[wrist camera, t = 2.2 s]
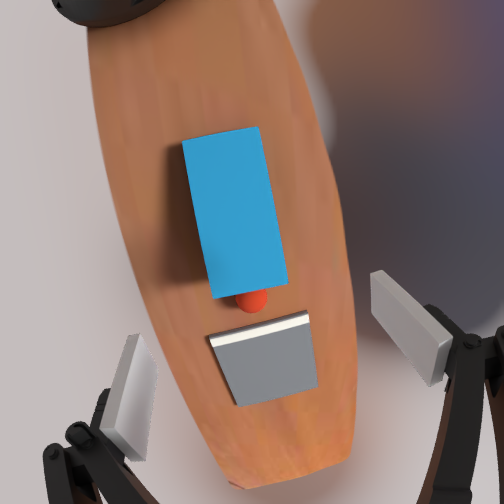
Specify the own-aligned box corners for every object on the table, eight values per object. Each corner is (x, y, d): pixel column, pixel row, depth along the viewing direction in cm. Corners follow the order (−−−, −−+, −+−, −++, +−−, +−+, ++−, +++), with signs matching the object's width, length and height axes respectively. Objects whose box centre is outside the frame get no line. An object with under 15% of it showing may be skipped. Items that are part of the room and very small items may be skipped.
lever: (191, 156, 32) (223, 313, 34) (181, 141, 25) (222, 336, 27) (252, 144, 32) (282, 301, 35) (258, 126, 25) (295, 321, 28)
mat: (209, 335, 35) (209, 338, 35) (306, 310, 36) (308, 313, 35) (238, 404, 41) (238, 407, 40) (317, 384, 41) (318, 387, 40)
